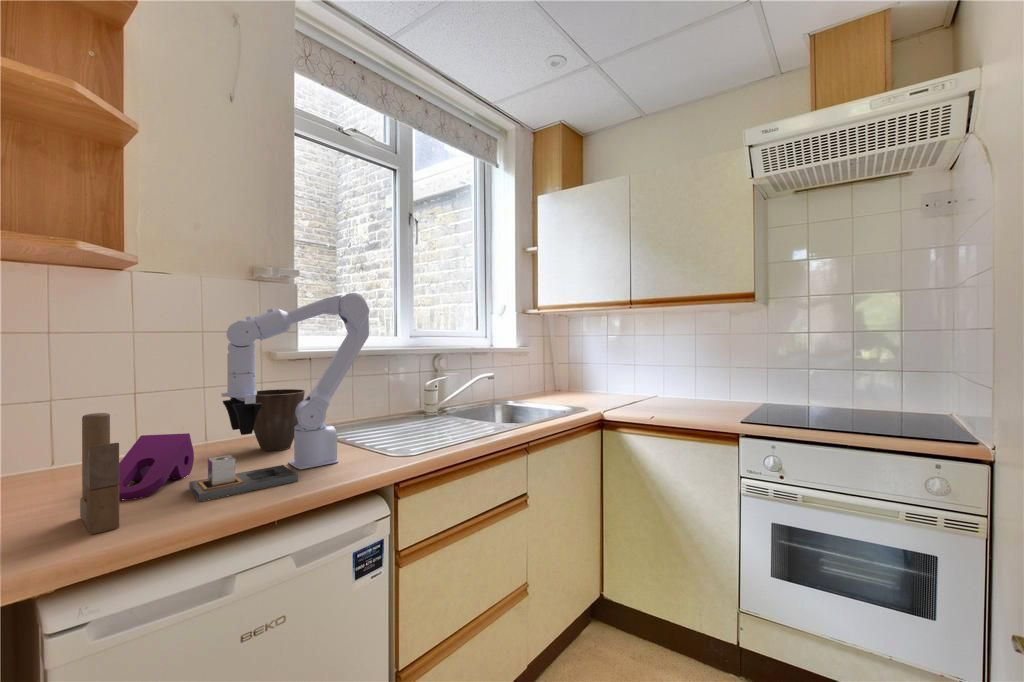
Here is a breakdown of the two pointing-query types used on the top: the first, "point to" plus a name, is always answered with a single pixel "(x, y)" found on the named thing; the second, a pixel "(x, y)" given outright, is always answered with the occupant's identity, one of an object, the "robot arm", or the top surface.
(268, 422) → the plant pot
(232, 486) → the grey holder tray
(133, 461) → the mounting bracket
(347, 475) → the top surface
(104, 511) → the wooden block
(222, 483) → the metal block with hole
